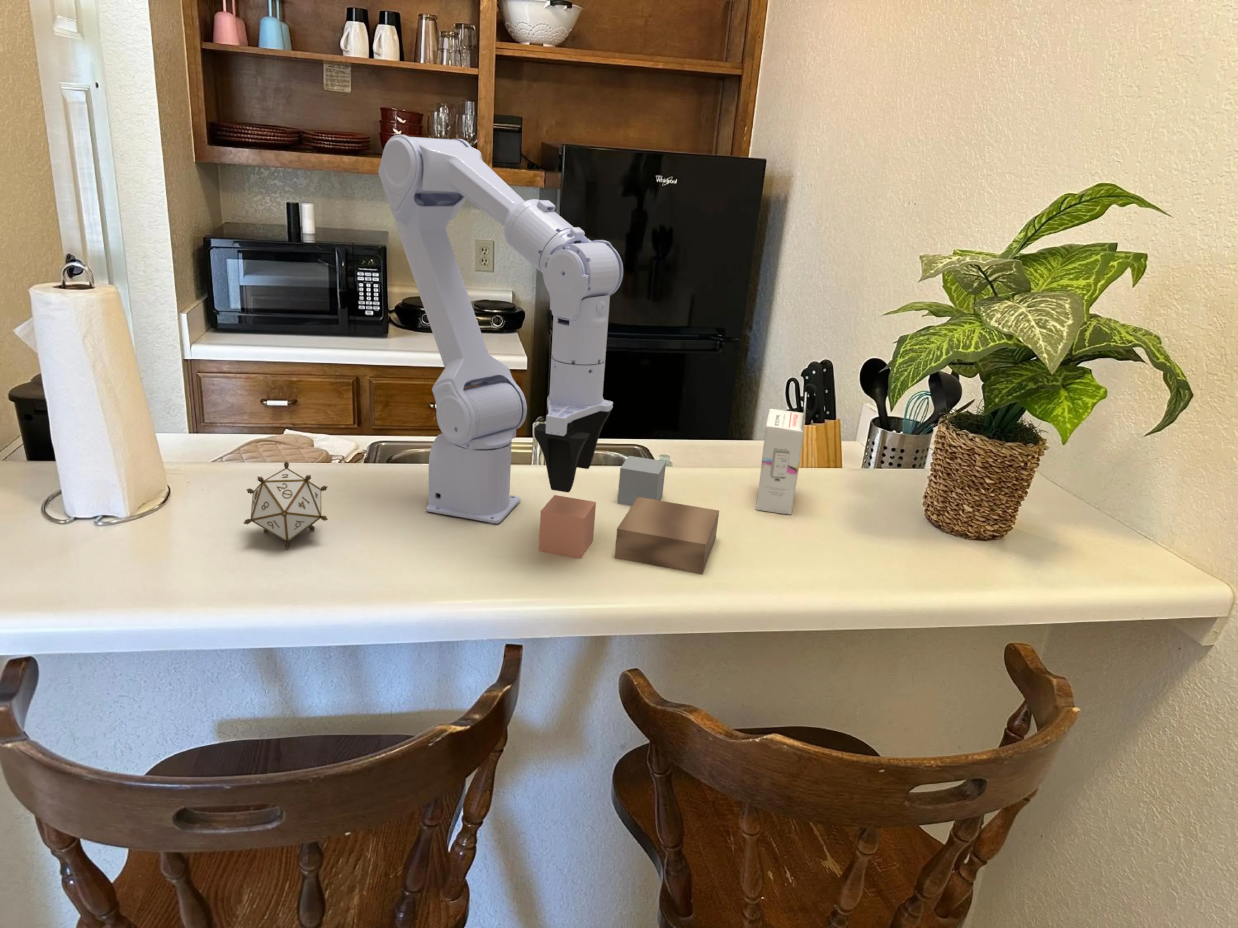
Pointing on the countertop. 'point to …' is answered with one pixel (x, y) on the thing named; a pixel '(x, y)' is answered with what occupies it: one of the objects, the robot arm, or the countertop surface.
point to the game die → (286, 504)
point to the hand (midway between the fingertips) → (570, 478)
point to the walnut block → (667, 535)
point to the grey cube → (641, 480)
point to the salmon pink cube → (567, 526)
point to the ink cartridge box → (780, 460)
